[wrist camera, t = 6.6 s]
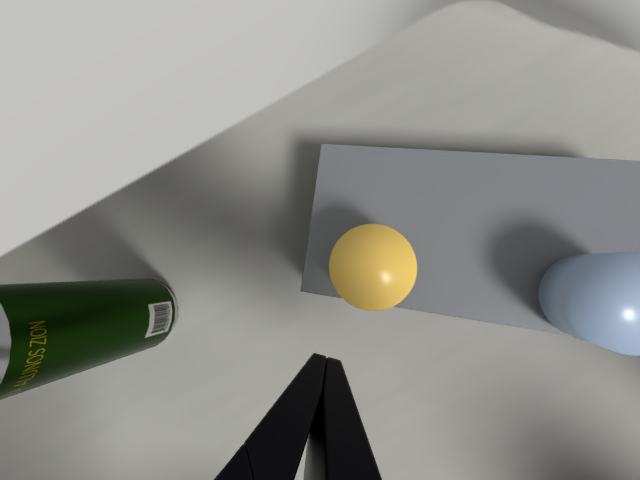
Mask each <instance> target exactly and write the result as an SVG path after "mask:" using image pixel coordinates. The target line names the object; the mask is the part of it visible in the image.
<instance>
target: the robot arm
mask: <svg viewBox="0 0 640 480" xmlns="http://www.w3.org/2000/svg"><path fill="white" fill-rule="evenodd" d="M307 439H308V441H307ZM306 442H307V450H306V460H305V470H304V480H382V478H381V475H380V473H379V470H378V467H377V464H376V461H375V458H374V455H373V452H372V449H371V447H370V444H369V441H368V438H367V435H366V432H365V429H364V426H363V423H362V421H361V418H360V415H359V412H358V409H357V406H356V403H355V400H354V397H353V395H352V392H351V389H350V386H349V383H348V380H347V377H346V374H345V371H344V369H343V366H342V363H341V361H340V360H337V359H334V358H330V357H328V358H326V356H323V355H320V354H316V353H314V354H313V355H312V356H311V357H310V358H309V360H308V361H307V362H306V364H305V365H304V366H303V367H302V369H301V370H300V371H299V373H298V374H297V375H296V376H295V378H294V379H293V380H292V382H291V383H290V384H289V385H288V387H287V388H286V389H285V391H284V392H283V393H282V394H281V396H280V397H279V398H278V400H277V401H276V402H275V403H274V405H273V406H272V407H271V409H270V410H269V411H268V413H267V414H266V415H265V416H264V418H263V419H262V420H261V422H260V423H259V424H258V425H257V427H256V428H255V429H254V431H253V432H252V433H251V434H250V436H249V437H248V438H247V440H246V441H245V443H244V444H243V445H242V446H241V447H240V448H239V450H238V451H237V452H236V453H235V455H234V456H233V457H232V459H231V460H230V461H229V462H228V463H227V465H226V466H225V467H224V468H223V469H222V471H221V472H220V473H219V474H218V475H217V477H216V478H215V479H214V480H294V479H295V476H296V473H297V469H298V466H299V463H300V460H301V457H302V454H303V451H304V448H305V445H306Z"/></svg>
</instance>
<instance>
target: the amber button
mask: <svg viewBox="0 0 640 480" xmlns="http://www.w3.org/2000/svg"><path fill="white" fill-rule="evenodd" d="M329 273H330V278H331V281H332V284H333V286H334V288H335V289H336V291H337V292H338V294H339V295H340V296H341V297H342V298H343V299H344V300H345V301H346V302H348V303H349V304H351V305H353V306H355V307H357V308H360V309H363V310H368V311H380V310H385V309H388V308H391V307H393V306H395V305H397V304H398V303H400V302H401V301H402V300H403V299H404V298H405V297H406V296H407V295H408V294H409V292H410V291H411V289H412V287H413V285H414V283H415V280H416V275H417V260H416V256H415V253H414V251H413V249H412V247H411V245H410V243H409V242H408V241H407V239H406V238H405V237H404V236H403V235H401V234H400V233H399V232H398V231H396V230H394V229H392V228H390V227H388V226H384V225H380V224H365V225H360V226H357V227H355V228H353V229H351V230H349V231H348V232H346V233H345V234H344V235H343V236H342V237H341V238H340V239H339V240H338V241H337V243H336V244H335V246H334V248H333V250H332V253H331V256H330V261H329Z"/></svg>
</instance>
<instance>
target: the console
mask: <svg viewBox="0 0 640 480" xmlns="http://www.w3.org/2000/svg"><path fill="white" fill-rule="evenodd" d="M365 224H380V225H384V226H388V227H390V228H392V229H394V230H396V231H398V232H399V233H400V234H401V235H403V236H404V237H405V238H406V239H407V241H408V242H409V243H410V245H411V247H412V249H413V251H414V253H415V256H416V260H417V275H416V280H415V283H414V285H413V287H412V289H411V291H410V292H409V294H408V295H407V296H406V297H405V298H404V299H403V300H402V301H401V302H400V303H398V304H397V305H395V306H393V307H399V308H405V309H411V310H417V311H423V312H429V313H435V314H441V315H447V316H454V317H460V318H466V319H472V320H478V321H484V322H490V323H496V324H502V325H508V326H514V327H520V328H527V329H533V330H539V331H545V332H551V333H557V334H563V335H567V334H565V333H563V332H562V331H560V330H559V329H557V328H556V327H555V326H554V325H553V324H552V323H551V322H550V321H549V320H548V319H547V317H546V316H545V314H544V313H543V311H542V308H541V306H540V302H539V296H538V290H539V284H540V281H541V279H542V277H543V275H544V273H545V272H546V270H547V269H548V268H549V267H550V266H551V265H553V264H554V263H555V262H557V261H559V260H561V259H563V258H565V257H568V256H573V255H581V254H596V253H610V252H637V253H640V161H630V160H612V159H594V158H575V157H557V156H538V155H520V154H501V153H483V152H465V151H446V150H428V149H409V148H391V147H372V146H354V145H335V144H321V151H320V158H319V165H318V172H317V179H316V186H315V193H314V200H313V207H312V214H311V221H310V228H309V235H308V243H307V250H306V257H305V264H304V271H303V278H302V285H301V291H302V292H308V293H314V294H320V295H326V296H332V297H338V298H342V297H341V296H340V295H339V294H338V292H337V291H336V289H335V288H334V286H333V284H332V281H331V278H330V273H329V261H330V256H331V253H332V250H333V248H334V246H335V244H336V243H337V241H338V240H339V239H340V238H341V237H342V236H343V235H344V234H345V233H346V232H348V231H349V230H351V229H353V228H355V227H357V226H360V225H365Z"/></svg>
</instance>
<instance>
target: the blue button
mask: <svg viewBox="0 0 640 480" xmlns="http://www.w3.org/2000/svg"><path fill="white" fill-rule="evenodd" d="M538 296H539V302H540V306H541V308H542V311H543V313H544V314H545V316H546V317H547V319H548V320H549V321H550V322H551V323H552V324H553V325H554V326H555V327H556V328H557V329H559V330H560V331H562V332H563V333H565V334H567V335H569V336H572V337H575V338H578V339H580V340H583V341H586V342H589V343H592V344H595V345H597V346H600V347H603V348H606V349H609V350H611V351H614V352H617V353H621V354H626V355H634V356H640V253H637V252H610V253H596V254H581V255H573V256H568V257H565V258H563V259H561V260H559V261H557V262H555V263H554V264H553V265H551V266H550V267H549V268H548V269H547V270H546V272H545V273H544V275H543V277H542V279H541V281H540V284H539V290H538Z"/></svg>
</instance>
